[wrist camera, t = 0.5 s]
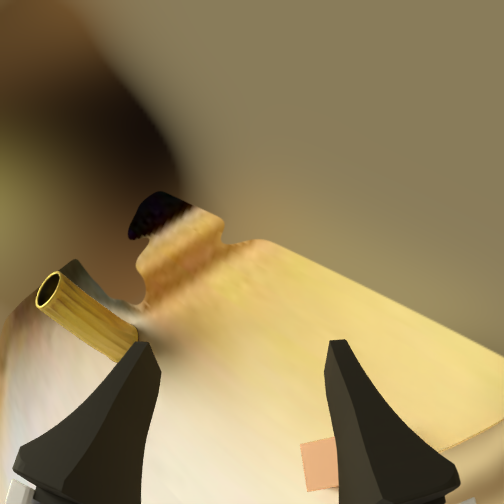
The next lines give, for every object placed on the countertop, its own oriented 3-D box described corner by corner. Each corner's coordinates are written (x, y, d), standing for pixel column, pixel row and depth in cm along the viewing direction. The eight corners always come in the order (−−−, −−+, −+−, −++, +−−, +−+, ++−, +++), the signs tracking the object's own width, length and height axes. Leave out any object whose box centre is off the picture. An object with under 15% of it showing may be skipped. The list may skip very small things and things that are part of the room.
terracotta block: (365, 476, 19) (362, 480, 16) (320, 486, 20) (307, 491, 17) (357, 436, 22) (352, 431, 19) (314, 447, 23) (300, 444, 19)
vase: (120, 321, 43) (50, 266, 33) (145, 329, 40) (70, 269, 30) (103, 356, 40) (28, 306, 30) (127, 368, 37) (44, 315, 27)
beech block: (527, 503, 10) (545, 506, 7) (426, 553, 12) (431, 566, 9) (508, 415, 16) (525, 407, 14) (410, 462, 19) (414, 463, 16)
